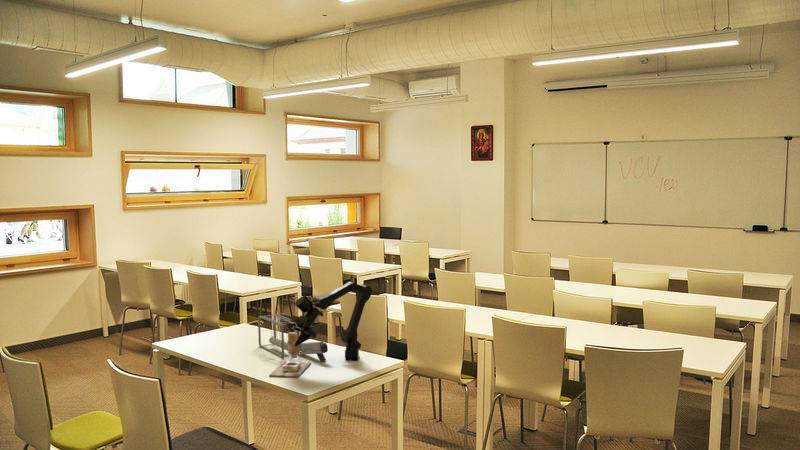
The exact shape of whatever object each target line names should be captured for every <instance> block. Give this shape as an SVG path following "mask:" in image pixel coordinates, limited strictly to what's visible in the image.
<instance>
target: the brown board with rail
mask: <svg viewBox="0 0 800 450" xmlns="http://www.w3.org/2000/svg"><path fill="white" fill-rule="evenodd" d="M311 365H312V362H306V361H305V362H304V361H303V362H301V361H283V362H282V363H281V364H279V366H278V367H277V368H275V369H274V370H273V371H272V372H271V373H270V374H269V375H268V376H269V378H293V379H294V378H295V379H298V378H300V377H301V375H303V373H304V372H305V371H306V370H307V369H309V367H310V366H311Z"/></svg>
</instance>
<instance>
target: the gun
mask: <svg viewBox="0 0 800 450" xmlns="http://www.w3.org/2000/svg"><path fill="white" fill-rule="evenodd" d="M328 350H329V348H328V344H327V343H326V342H324V341H323V340H321V341H312V342H311V341H310V342H308V341H307V342H303V343H301V344H300V353H299V355H316V356H317V358H318V360H319V362H320V363H321V362H323V363H324V362H326V361H327V359H326V357H325V355H324V354H325V353H327V352H329V351H328Z"/></svg>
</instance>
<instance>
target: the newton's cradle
mask: <svg viewBox="0 0 800 450" xmlns="http://www.w3.org/2000/svg"><path fill="white" fill-rule="evenodd" d="M270 316H271V317H270ZM272 317H273V318H272ZM261 319H262V320H265V321H267V322H268V326H269V327H271V326H272V328H273V329H272V328H269V330H270V332H273V333H270V334H271V337H269V339H268V342H269V344H265V345H264V344H263V345H262V344H261V343H262V341H261V332H262V331H261ZM277 319H278V320H277ZM281 320H282V321H281ZM290 320H291V318H289V317H286V316H284V315H280V314H279V313H274V314H269V315H259V316H258V319H257V325H258V327H257V328H258V346H259V348H261V349H264V350H266V351H268V352H270V353H272V354H273V355H276V356H278V357H280V358H283V357H286V356H291V354H289V353H288V354H285V351H286V350H287V351H288V343H287V341H286V340H288V336H286V338H285V335H284V334H285V328H286V327H285V326H286V325H287V322H288V323H289V322H291V321H290ZM284 321H285V322H284ZM270 323H271V325H270ZM291 323H294V324H296V323H295V322H291ZM276 325H277V327H276ZM279 326H280V329H279ZM296 326H297V325H296ZM297 327H298V326H297ZM271 329H272V330H271ZM286 331H287V332H286V333H289V329H287V330H286ZM278 332H279V334H280V336H278ZM299 333H300V331H299ZM272 334H273V335H272ZM278 337H279V338H278ZM271 345H274V346H277V347H279V349H280V348H281V354H280V353H278V352H276V351H275V350H272V349H270V348H268V347H266V346H271ZM297 355H300V353H298V354H297Z"/></svg>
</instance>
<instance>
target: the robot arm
mask: <svg viewBox="0 0 800 450" xmlns="http://www.w3.org/2000/svg"><path fill="white" fill-rule="evenodd" d="M351 291H352V292H355V300H356V301H355V304H354V307H353V310H352V314H351V316H350V320H349V323H348V326H347V328H346V329H344V328H343V329H342V333H341V335H340V337H341V338H340V341H341V342H342V344H343V345H344V347H345V350H344V360H345V361H348V362H349V361H351V362H352V361H356V362H358V360H359V359H360V358H361V357H360V349H361V347H362V344H361V343H360V341H358V336H359V334H358V328H359V325H360V321H361V318H362V314H363V312H364V308H365V306H366V303H367V302H369V300H370V298H371V296H372V294H373V289H372V287H371V286H370V285H366V284H357V283H355V281H354V282H353V281H347V282H346V283H344V284H343V285H341V286H339V287H338V288H336V289H335V290H332V291H331V292H329V293H326V294H322V295H319V296H317V297H315V298H314V299H311V300H310V299H309V298H308V296H306V295H305V294H303V295H302V296H301V297H299V298H297V300H295V303H294V306H295V307H296V308H297V309H298V310H299V311H301V313H303V314H304V313H305V314H304V315H300V316H298V315H295V314H294V315H293V314H292V315H291V318H290V319H291V320H290V321H291V322H293V323H291V322H289V321H288V322H286V324H287V325H285V326H286V327H285V328H287V330H288V331H289V332H299V331H300V336H299V338H298V339H297V341H296V343H295V346H298V345H299V344H301V343H305V342H307V341H309V340H311V339H315V340H316V338H317V336H318V333H317V331H315V329H314V328H312V327H314V326H315V325H316V323H315V321H316V320H317V318H318V317H324V314H323V312H324V311H323V310H325V311H326V310H327V309H328V308H329V307H330V306H331V305H332V304H333V303H334V302H335V301H336V300H338V299H340V298H341V297H343V296H345V295H347V294H348V293H350V292H351ZM294 322H295V323H294ZM297 326H298V327H297ZM286 343H288V341H286Z"/></svg>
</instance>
